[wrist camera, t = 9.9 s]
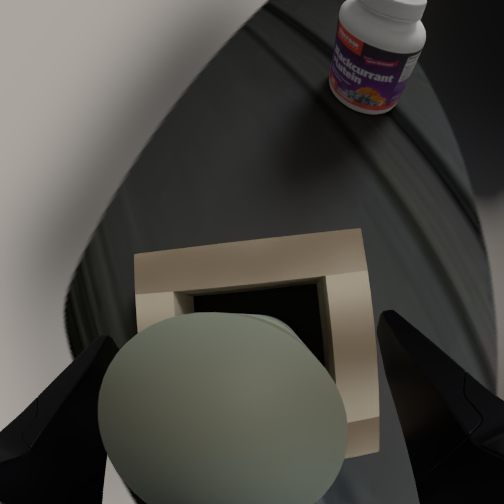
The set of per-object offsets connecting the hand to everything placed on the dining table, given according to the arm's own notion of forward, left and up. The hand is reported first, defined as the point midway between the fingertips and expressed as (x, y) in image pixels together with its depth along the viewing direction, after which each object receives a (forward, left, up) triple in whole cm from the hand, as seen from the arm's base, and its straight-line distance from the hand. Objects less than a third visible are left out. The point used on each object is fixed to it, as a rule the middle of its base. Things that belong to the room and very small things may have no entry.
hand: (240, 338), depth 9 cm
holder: (-1, 0, -8) cm, 8 cm away
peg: (-1, 0, -8) cm, 8 cm away
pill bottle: (+16, -10, -8) cm, 20 cm away
